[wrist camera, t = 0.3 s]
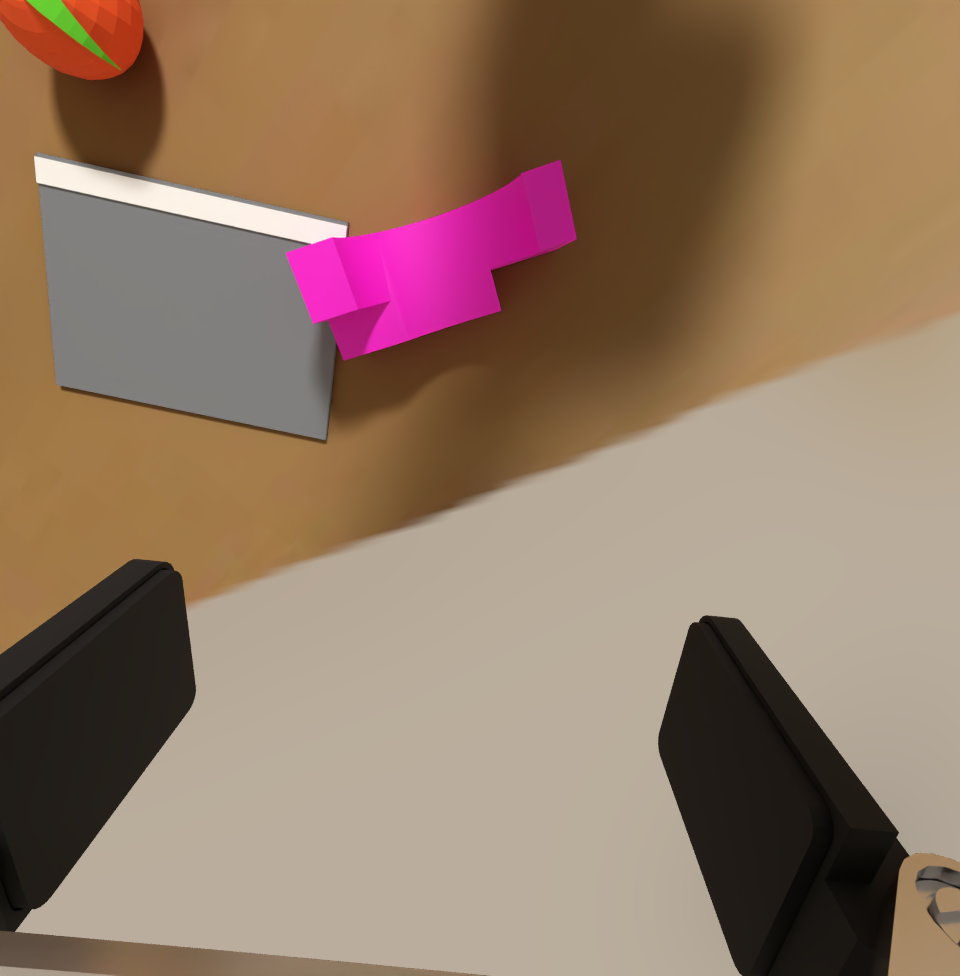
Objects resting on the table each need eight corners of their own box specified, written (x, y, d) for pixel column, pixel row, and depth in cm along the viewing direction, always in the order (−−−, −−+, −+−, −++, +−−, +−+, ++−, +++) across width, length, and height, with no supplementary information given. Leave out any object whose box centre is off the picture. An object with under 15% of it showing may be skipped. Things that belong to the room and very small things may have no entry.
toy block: (359, 352, 37) (330, 367, 30) (325, 260, 34) (285, 252, 27) (565, 288, 35) (586, 287, 28) (543, 187, 33) (560, 159, 26)
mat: (40, 153, 33) (33, 151, 33) (349, 223, 34) (347, 221, 33) (60, 383, 38) (54, 385, 38) (327, 438, 39) (324, 440, 39)
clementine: (207, 55, 31) (128, -10, 24) (136, 141, 33) (44, 102, 26) (98, -80, 29) (-21, -192, 22) (29, 19, 31) (-101, -57, 24)
